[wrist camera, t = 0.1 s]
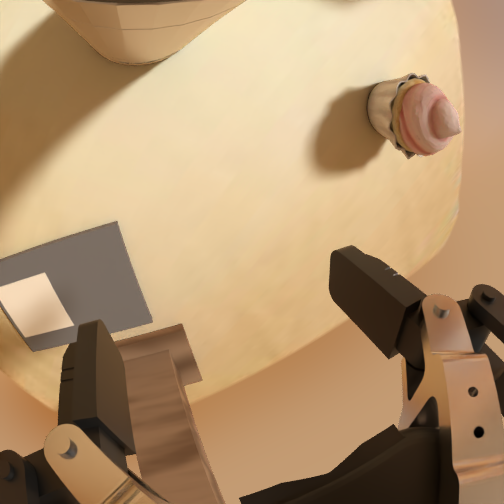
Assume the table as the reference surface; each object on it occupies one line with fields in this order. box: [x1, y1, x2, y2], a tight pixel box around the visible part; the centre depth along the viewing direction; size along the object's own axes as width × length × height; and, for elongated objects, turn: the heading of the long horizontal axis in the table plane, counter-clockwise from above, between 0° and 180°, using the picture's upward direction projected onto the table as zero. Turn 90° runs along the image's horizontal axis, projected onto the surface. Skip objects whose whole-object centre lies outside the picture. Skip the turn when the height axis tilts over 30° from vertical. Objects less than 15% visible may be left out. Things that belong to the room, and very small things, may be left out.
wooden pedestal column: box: [114, 324, 225, 504], centre depth 22 cm, size 11×11×32 cm
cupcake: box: [367, 73, 461, 159], centre depth 24 cm, size 9×9×10 cm
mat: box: [0, 221, 153, 352], centre depth 25 cm, size 12×16×1 cm
